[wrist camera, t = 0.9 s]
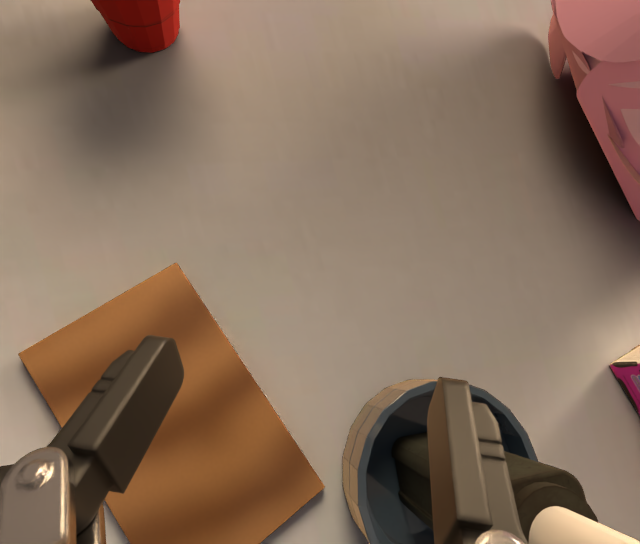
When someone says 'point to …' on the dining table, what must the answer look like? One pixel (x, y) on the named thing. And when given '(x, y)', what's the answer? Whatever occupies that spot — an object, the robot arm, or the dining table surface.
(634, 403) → the candy bar box
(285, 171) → the dining table surface
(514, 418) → the bowl
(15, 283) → the dining table surface
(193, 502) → the mat
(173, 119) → the dining table surface
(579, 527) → the candle
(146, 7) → the plastic cup
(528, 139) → the dining table surface
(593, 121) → the flower arrangement
